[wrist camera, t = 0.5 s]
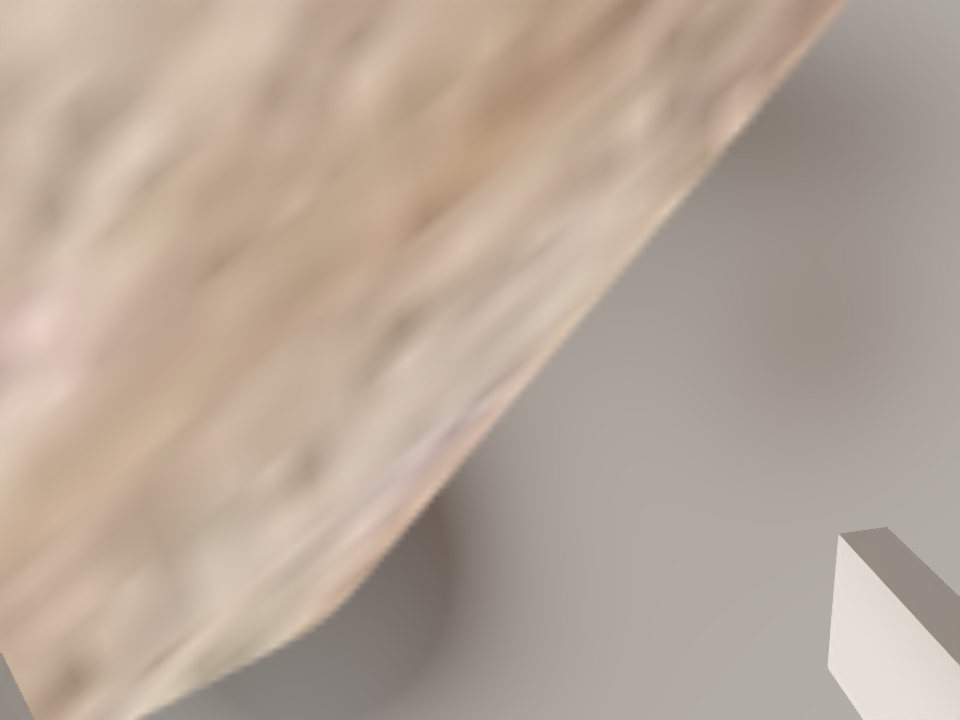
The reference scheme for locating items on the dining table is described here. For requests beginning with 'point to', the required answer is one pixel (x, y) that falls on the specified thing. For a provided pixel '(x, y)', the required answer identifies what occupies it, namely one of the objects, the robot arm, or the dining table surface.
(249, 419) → the dining table surface
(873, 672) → the robot arm
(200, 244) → the dining table surface
